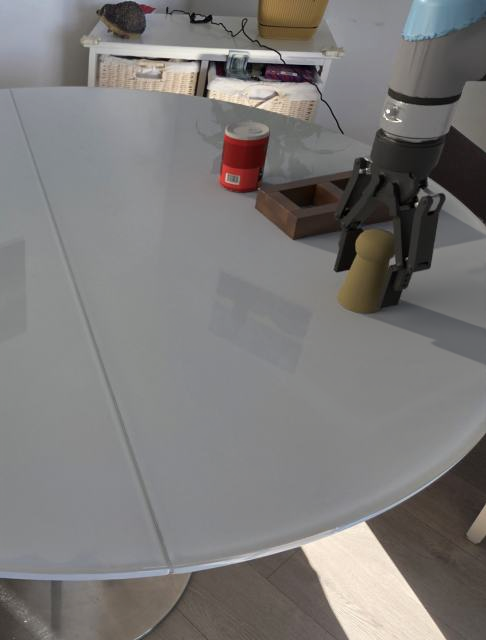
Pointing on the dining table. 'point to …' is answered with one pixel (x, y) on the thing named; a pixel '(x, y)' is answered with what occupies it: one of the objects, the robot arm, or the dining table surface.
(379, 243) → the tan pawn
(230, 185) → the canned food
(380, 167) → the robot arm
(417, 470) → the dining table surface
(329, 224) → the caddy
